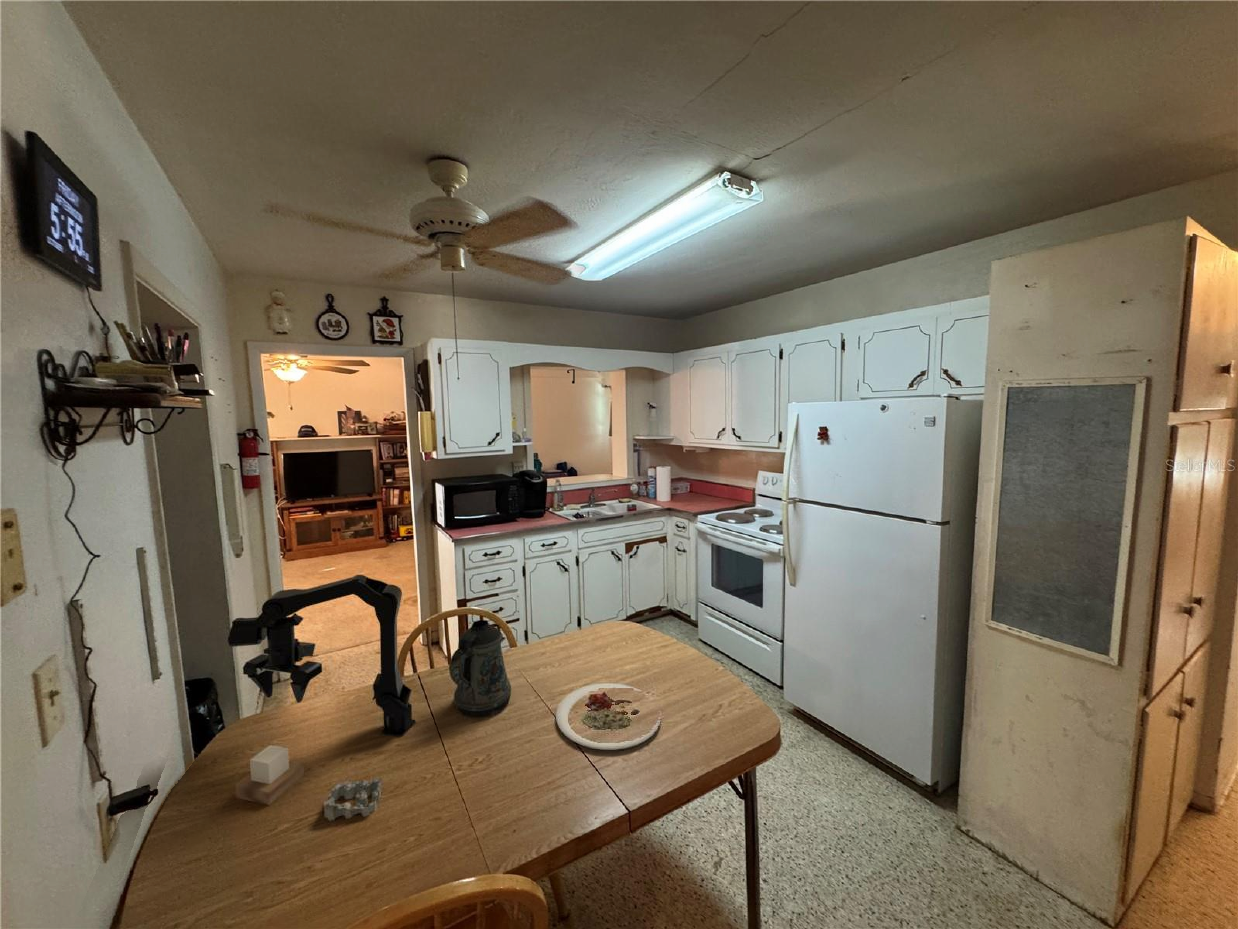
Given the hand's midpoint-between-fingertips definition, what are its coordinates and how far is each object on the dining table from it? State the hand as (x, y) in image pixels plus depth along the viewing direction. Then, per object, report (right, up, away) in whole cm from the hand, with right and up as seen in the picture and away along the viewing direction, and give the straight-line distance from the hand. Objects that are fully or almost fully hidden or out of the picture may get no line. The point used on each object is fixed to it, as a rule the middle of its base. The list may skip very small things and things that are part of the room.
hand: (284, 699), depth 125 cm
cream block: (+6, -11, -13) cm, 18 cm away
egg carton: (+28, -15, -18) cm, 36 cm away
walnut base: (+6, -14, -13) cm, 20 cm away
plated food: (+83, -13, +15) cm, 85 cm away
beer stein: (+45, -11, +19) cm, 51 cm away
